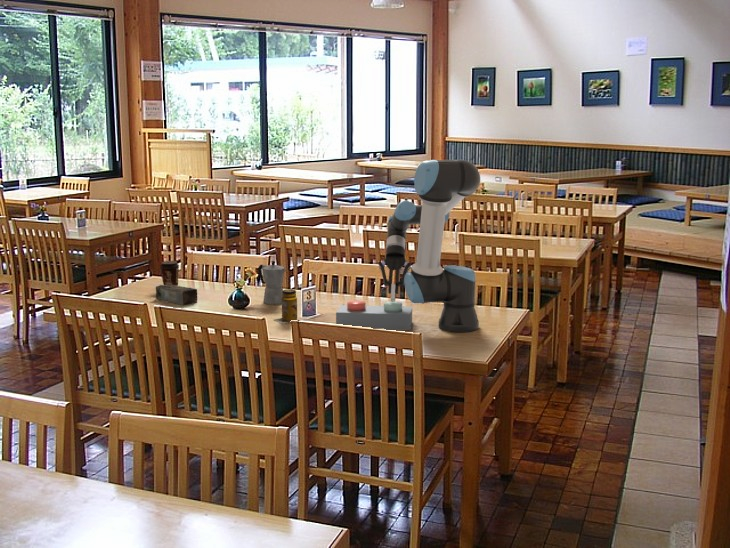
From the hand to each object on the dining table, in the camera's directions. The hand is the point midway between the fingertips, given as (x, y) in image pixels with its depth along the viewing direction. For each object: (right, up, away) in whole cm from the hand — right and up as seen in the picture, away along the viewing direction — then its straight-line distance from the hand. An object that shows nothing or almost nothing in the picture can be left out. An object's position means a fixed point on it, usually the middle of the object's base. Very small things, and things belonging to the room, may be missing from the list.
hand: (392, 300), depth 311 cm
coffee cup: (-99, +2, +62) cm, 117 cm away
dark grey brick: (-92, -2, +42) cm, 101 cm away
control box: (-7, -9, +2) cm, 12 cm away
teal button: (0, -9, +1) cm, 9 cm away
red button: (-14, -9, +3) cm, 17 cm away
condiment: (-41, -8, +9) cm, 43 cm away
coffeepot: (-50, -2, +39) cm, 64 cm away
